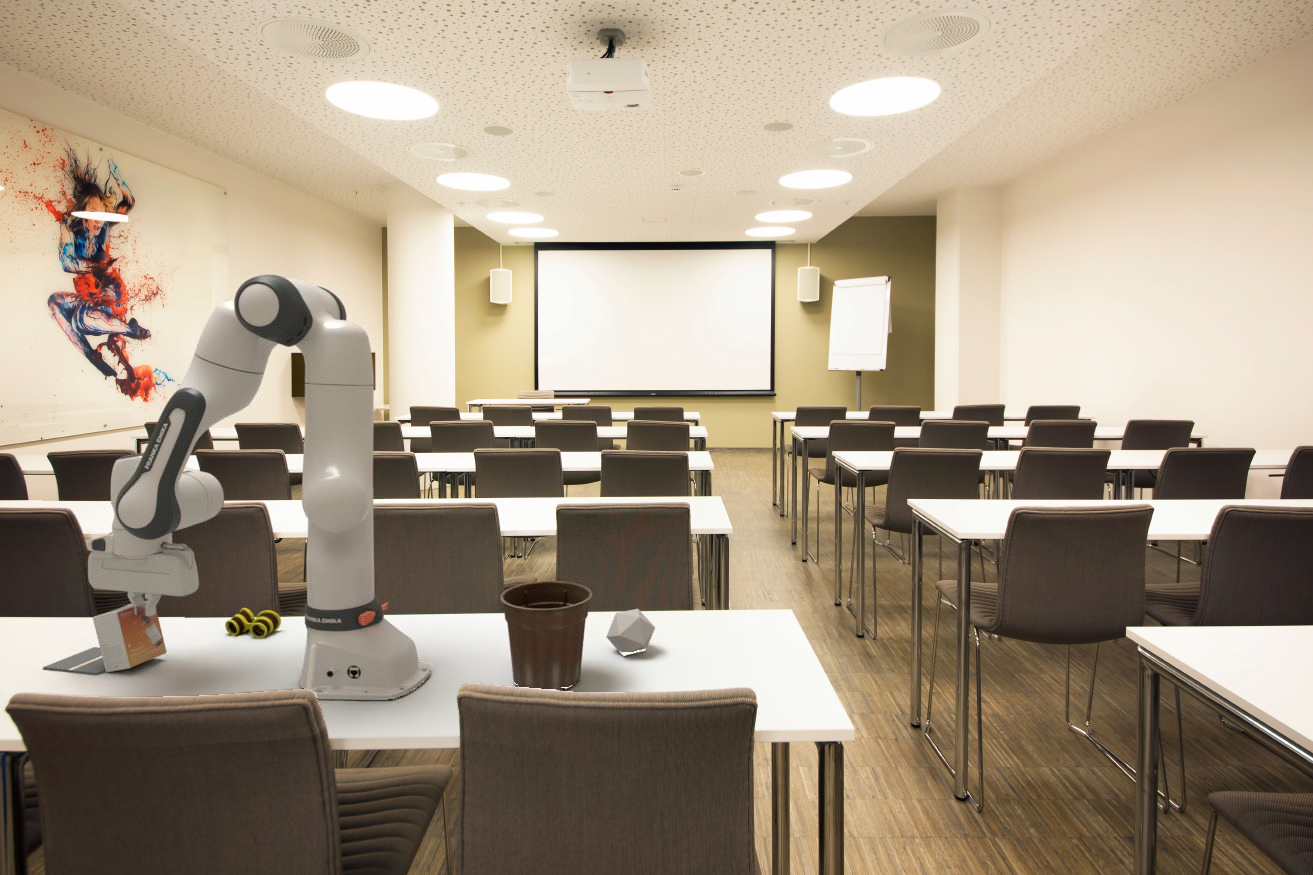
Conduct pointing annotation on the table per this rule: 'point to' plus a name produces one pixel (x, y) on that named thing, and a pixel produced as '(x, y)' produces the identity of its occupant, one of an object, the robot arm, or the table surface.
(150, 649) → the small box
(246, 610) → the opera glasses
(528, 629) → the plant pot
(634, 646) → the die
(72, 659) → the mat
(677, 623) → the table surface
